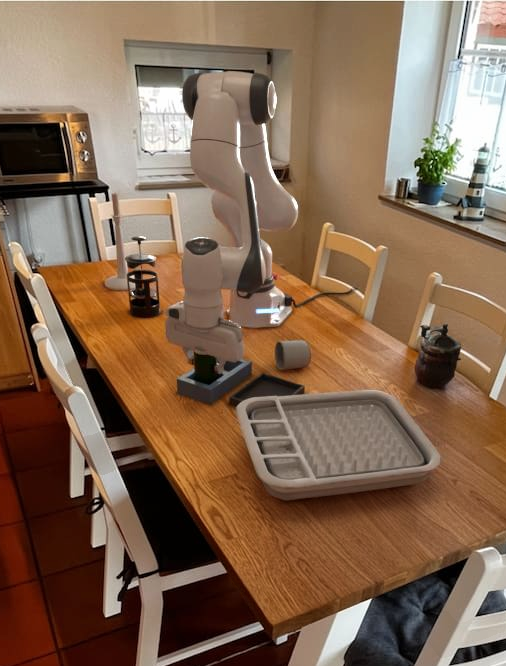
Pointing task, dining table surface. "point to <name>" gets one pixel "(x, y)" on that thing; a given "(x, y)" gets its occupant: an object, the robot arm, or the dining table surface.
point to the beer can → (204, 367)
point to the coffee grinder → (437, 357)
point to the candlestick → (119, 253)
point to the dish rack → (334, 443)
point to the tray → (266, 389)
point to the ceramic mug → (292, 354)
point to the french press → (142, 285)
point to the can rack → (218, 388)
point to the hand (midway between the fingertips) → (205, 368)
